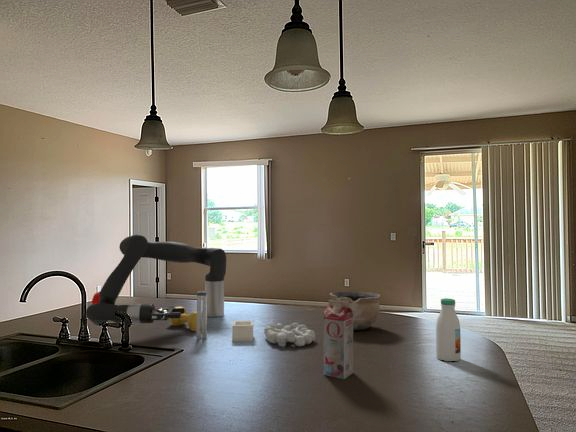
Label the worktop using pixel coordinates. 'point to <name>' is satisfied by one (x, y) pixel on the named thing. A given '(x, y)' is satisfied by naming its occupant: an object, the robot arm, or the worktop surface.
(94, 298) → the tomato
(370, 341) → the worktop surface
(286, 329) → the campfire
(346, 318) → the juice carton
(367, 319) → the ceramic bowl
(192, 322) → the dumbbell
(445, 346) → the milk bottle
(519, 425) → the worktop surface
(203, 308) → the grey long square block
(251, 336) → the open box
